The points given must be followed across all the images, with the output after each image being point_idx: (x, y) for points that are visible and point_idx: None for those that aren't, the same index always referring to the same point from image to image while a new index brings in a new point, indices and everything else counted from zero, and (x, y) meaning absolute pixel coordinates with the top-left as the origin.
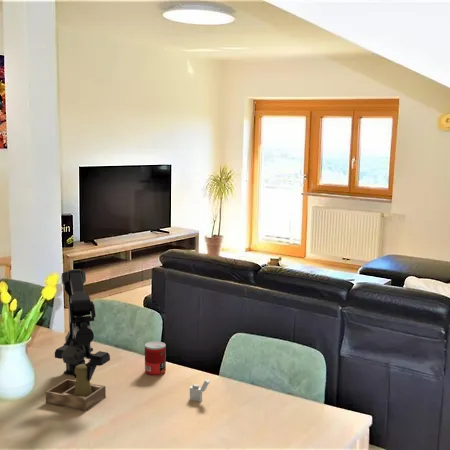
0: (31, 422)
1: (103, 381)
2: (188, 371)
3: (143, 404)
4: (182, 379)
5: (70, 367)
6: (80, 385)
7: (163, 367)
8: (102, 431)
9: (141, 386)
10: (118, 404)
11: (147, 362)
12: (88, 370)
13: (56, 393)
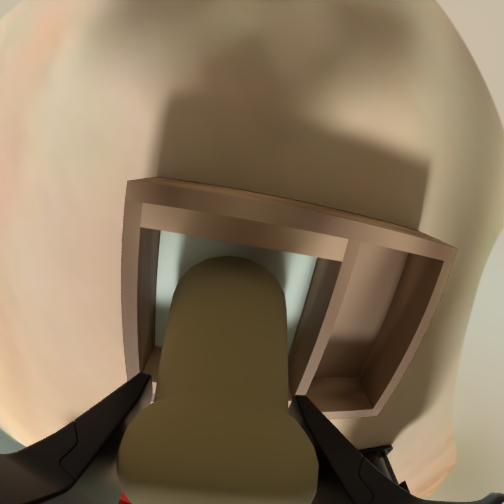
0: (381, 23)
1: None
2: None
3: (3, 307)
4: None
5: (380, 472)
6: (212, 320)
7: None
8: (34, 47)
9: None
10: (58, 295)
11: (125, 502)
12: (73, 448)
13: (395, 239)
